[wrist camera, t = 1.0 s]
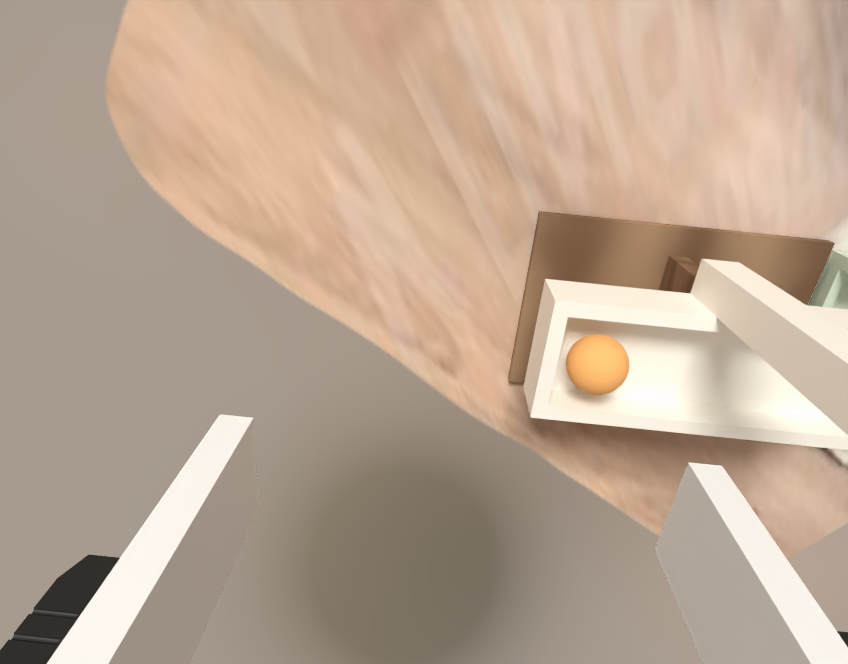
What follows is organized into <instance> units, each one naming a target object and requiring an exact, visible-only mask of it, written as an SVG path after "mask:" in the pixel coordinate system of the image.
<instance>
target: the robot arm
mask: <svg viewBox="0 0 848 664" xmlns="http://www.w3.org/2000/svg"><path fill="white" fill-rule="evenodd" d="M258 511H259V495H258V481H257V465H256V450H255V435H254V419H253V418H249V417H239V416H229V415H219V417H218V418H217V420H216V421H215V422H214V424H213V425H212V427H211V428H210V430H209V431H208V432H207V434H206V436H205V437H204V438H203V440H202V441H201V443H200V444H199V445H198V447H197V448H196V450H195V451H194V453H193V454H192V456H191V457H190V458H189V460H188V461H187V463H186V464H185V466H184V467H183V469H182V470H181V471H180V473H179V474H178V476H177V477H176V479H175V480H174V482H173V483H172V484H171V486H170V487H169V489H168V490H167V491H166V493H165V494H164V496H163V497H162V499H161V500H160V501H159V503H158V505H157V506H156V507H155V509H154V510H153V512H152V513H151V514H150V516H149V517H148V519H147V520H146V522H145V523H144V524H143V526H142V527H141V529H140V530H139V532H138V533H137V535H136V536H135V537H134V539H133V540H132V542H131V543H130V545H129V546H128V547H127V549H126V550H125V552H124V553H123V555H122V556H121V557H120V558H116V557H106V556H97V555H88V556H86V557H85V558H84V559H83V560H81V561H80V562H78V563H77V564H76V565H74V566H73V567H72V568H70V569H69V570H68V571H66V572H65V573H64V574H63V575H61V576H60V577H59V578H57V579H56V581H55V582H54V583H53V584H52V586H51V587H50V588H49V590H48V591H47V592H46V593H45V595H44V596H43V597H42V598H41V600H40V601H39V602H38V603H37V605H36V606H35V607H34V611H33V613H32V614H29V615H28V616H27V617H26V619H25V620H24V621H23V622H22V624H21V625H20V626H19V627H18V629H17V630H16V631H15V632H14V636H13V638H12V639H11V640H8V641H7V643H6V644H5V645H4V646H3V648H2V649H1V650H0V664H190V662H191V659H192V657H193V655H194V653H195V650H196V648H197V646H198V643H199V641H200V639H201V637H202V635H203V632H204V630H205V628H206V626H207V624H208V622H209V620H210V617H211V615H212V613H213V611H214V608H215V606H216V604H217V602H218V599H219V597H220V595H221V593H222V591H223V589H224V586H225V584H226V582H227V580H228V577H229V575H230V573H231V571H232V569H233V566H234V564H235V562H236V560H237V558H238V555H239V553H240V551H241V548H242V546H243V544H244V542H245V540H246V537H247V535H248V533H249V531H250V529H251V527H252V524H253V522H254V520H255V517H256V515H257V513H258ZM655 553H656V555H657V557H658V559H659V562H660V564H661V566H662V569H663V571H664V574H665V576H666V578H667V581H668V583H669V586H670V588H671V590H672V592H673V595H674V597H675V600H676V602H677V604H678V606H679V609H680V611H681V614H682V616H683V618H684V621H685V623H686V625H687V628H688V630H689V633H690V635H691V637H692V640H693V642H694V644H695V646H696V649H697V651H698V654H699V656H700V658H701V661H702V663H703V664H848V632H838V631H836V630H835V628H834V627H833V625H832V624H831V622H830V621H829V620H828V618H827V617H826V615H825V614H824V612H823V611H822V609H821V608H820V606H819V605H818V604H817V602H816V601H815V599H814V598H813V596H812V595H811V593H810V592H809V591H808V589H807V588H806V586H805V585H804V583H803V582H802V581H801V579H800V578H799V576H798V575H797V573H796V572H795V570H794V569H793V568H792V566H791V565H790V563H789V562H788V560H787V559H786V557H785V556H784V555H783V553H782V552H781V550H780V549H779V547H778V546H777V544H776V543H775V542H774V540H773V539H772V537H771V536H770V534H769V533H768V531H767V530H766V529H765V527H764V526H763V524H762V523H761V521H760V520H759V518H758V517H757V516H756V514H755V513H754V511H753V510H752V508H751V507H750V505H749V504H748V503H747V501H746V500H745V498H744V497H743V495H742V494H741V492H740V491H739V490H738V488H737V487H736V485H735V484H734V482H733V481H732V479H731V478H730V477H729V475H728V474H727V472H726V471H725V469H724V468H723V466H719V465H709V464H699V463H689V462H688V464H687V467H686V469H685V472H684V474H683V477H682V480H681V482H680V485H679V487H678V490H677V493H676V495H675V498H674V500H673V503H672V506H671V508H670V511H669V513H668V516H667V518H666V521H665V524H664V526H663V529H662V531H661V534H660V537H659V539H658V542H657V544H656V547H655Z"/></svg>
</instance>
